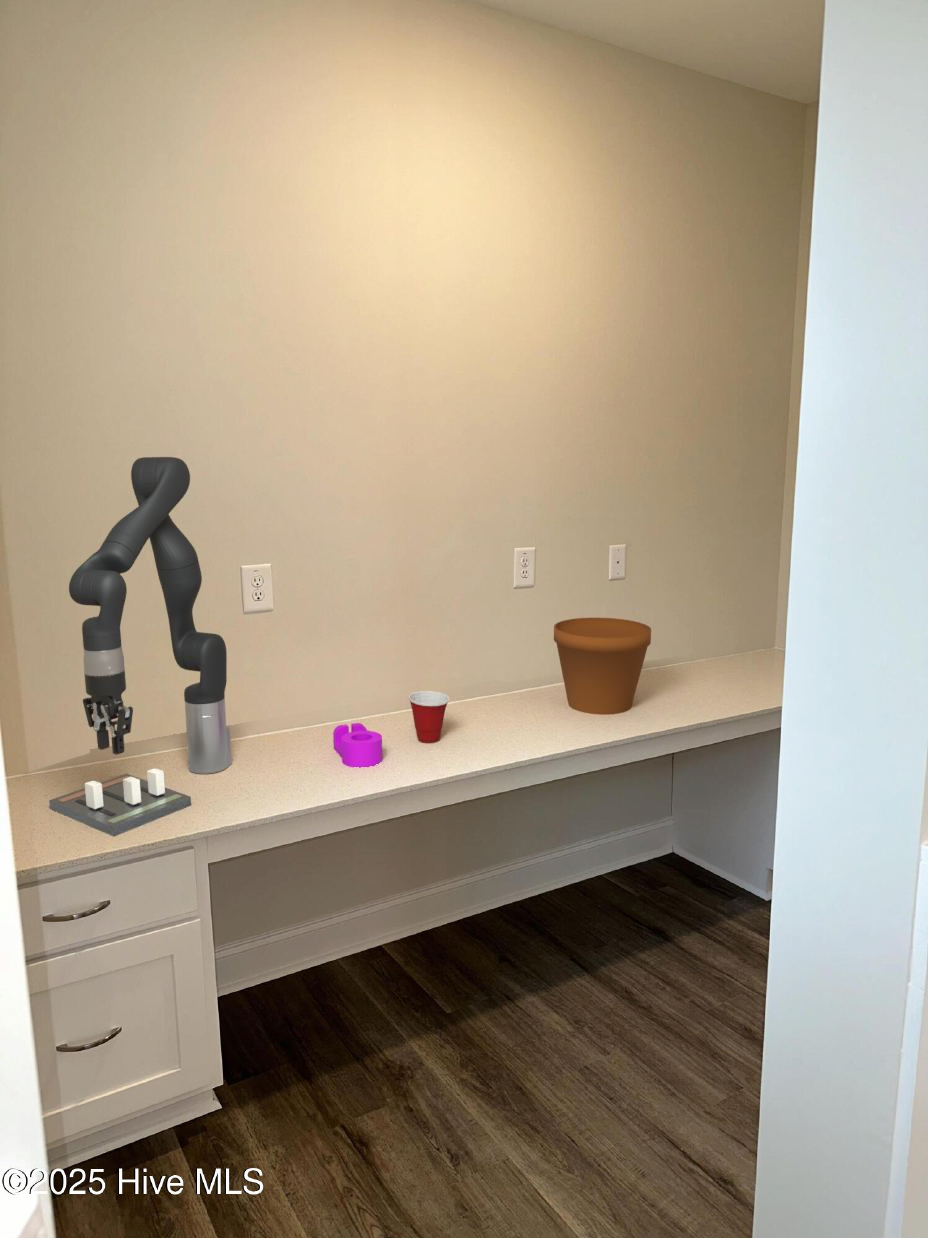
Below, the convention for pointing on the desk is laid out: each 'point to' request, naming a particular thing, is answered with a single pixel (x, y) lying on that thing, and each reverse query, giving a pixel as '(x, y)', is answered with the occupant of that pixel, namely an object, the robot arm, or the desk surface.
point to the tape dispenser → (357, 745)
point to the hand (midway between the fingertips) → (111, 750)
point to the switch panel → (119, 806)
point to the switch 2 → (155, 781)
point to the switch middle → (132, 790)
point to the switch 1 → (94, 794)
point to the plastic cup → (428, 714)
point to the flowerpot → (601, 662)
